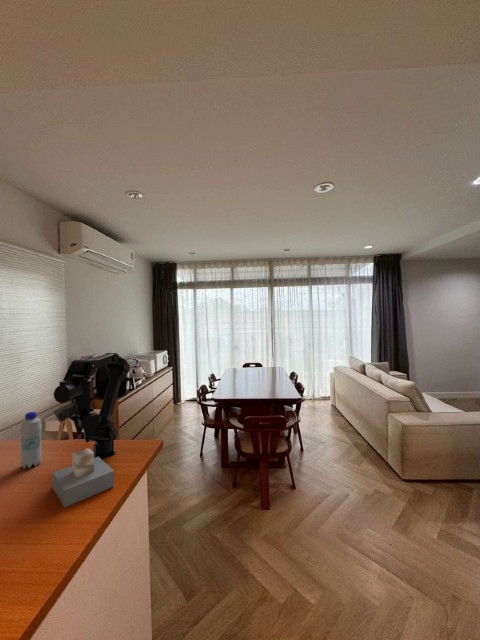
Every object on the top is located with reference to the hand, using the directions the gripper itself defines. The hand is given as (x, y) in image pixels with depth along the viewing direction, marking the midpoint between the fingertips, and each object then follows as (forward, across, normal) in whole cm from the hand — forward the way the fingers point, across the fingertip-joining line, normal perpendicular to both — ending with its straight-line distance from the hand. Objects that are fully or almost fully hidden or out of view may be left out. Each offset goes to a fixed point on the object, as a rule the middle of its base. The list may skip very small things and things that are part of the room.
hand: (83, 438), depth 98 cm
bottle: (+12, -20, -12) cm, 26 cm away
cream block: (+7, +10, -3) cm, 12 cm away
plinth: (+12, +10, -3) cm, 16 cm away
